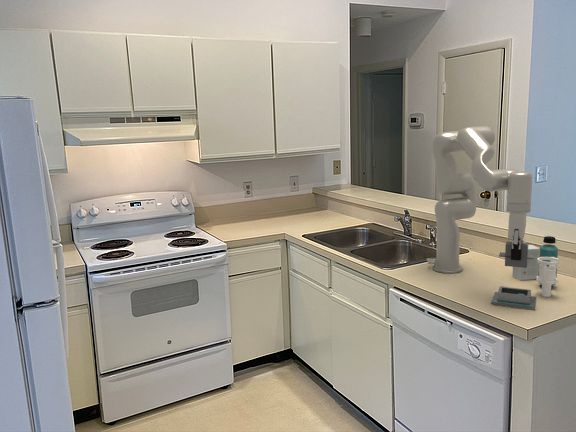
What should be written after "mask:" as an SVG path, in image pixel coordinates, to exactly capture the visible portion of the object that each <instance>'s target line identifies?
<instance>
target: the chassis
mask: <svg viewBox="0 0 576 432" xmlns="http://www.w3.org/2000/svg"><path fill="white" fill-rule="evenodd" d="M491 304H493V306H498V305H501V306H500V307H506V306H507V308H514V307H515V309H521V308H522V309H521V310H523V309H524V310H528V311H529V310H531V311H535V310H536V304H537V296H534V295H533V296H532V289H528V288H527V289H525V288H518V287H510V286H509V287H508V286H499V287H498V290H497V291H494V294H493V297H492V299H491V303H490V305H491Z"/></svg>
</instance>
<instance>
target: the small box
mask: <svg viewBox="0 0 576 432" xmlns="http://www.w3.org/2000/svg"><path fill="white" fill-rule="evenodd" d="M528 255H534V260H532V259H528V262H527V268H522V267H512V272H511V273H512V274H511V275H512V277H514V278H515V279H517V280H519V281H529V280H530V281H531V280H536V277H537V276H538V272H539V263H538V262H537V258H539V257H540V247H538V246H537V245H534V244H528Z"/></svg>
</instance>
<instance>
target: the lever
mask: <svg viewBox="0 0 576 432" xmlns="http://www.w3.org/2000/svg"><path fill="white" fill-rule="evenodd" d="M518 243H519V242H518ZM528 245H529V242H528V241H527V240H523V241H521V260H520V261H519V260H511V248H512V241H509V240H508V241H506V242H505V248H504V249H505V251H504V252H502V251H501V252H499V255H498V257H499V258H504V267H512V268H513V267H522V268H527V262H528V259H532V260H534V255H528Z"/></svg>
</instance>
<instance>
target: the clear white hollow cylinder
mask: <svg viewBox="0 0 576 432" xmlns="http://www.w3.org/2000/svg"><path fill="white" fill-rule="evenodd" d="M541 260H551V262H545V261H541ZM554 261H555V262H554ZM537 262H538V263H540V265H539V276H537V277H536V279H535V280H536V282H537V283H538V284H539V283H542V284H541V292H540V293H541V296H542V297H544V298H549V297H551V295H552V286H551V284H556V285H557V284H559V279H558V277H557V278H556V269H555V268H557V269H559V264H560V258H555V257H539V258H537ZM541 264H542V265H541ZM547 264H548V265H549V267H547Z"/></svg>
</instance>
